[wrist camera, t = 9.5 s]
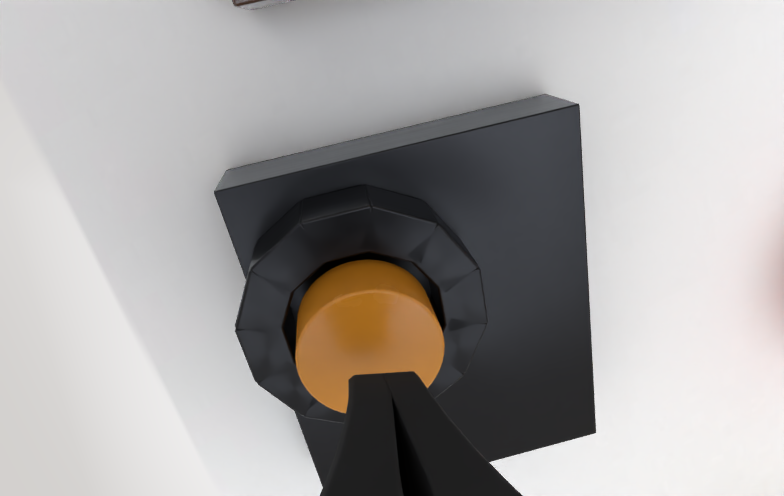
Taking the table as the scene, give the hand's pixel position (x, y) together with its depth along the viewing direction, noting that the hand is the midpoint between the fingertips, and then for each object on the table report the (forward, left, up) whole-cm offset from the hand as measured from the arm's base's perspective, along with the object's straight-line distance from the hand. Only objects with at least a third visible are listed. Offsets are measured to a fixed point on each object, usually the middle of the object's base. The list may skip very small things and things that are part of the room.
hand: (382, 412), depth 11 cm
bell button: (0, 0, -4) cm, 4 cm away
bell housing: (+2, -2, -7) cm, 8 cm away
